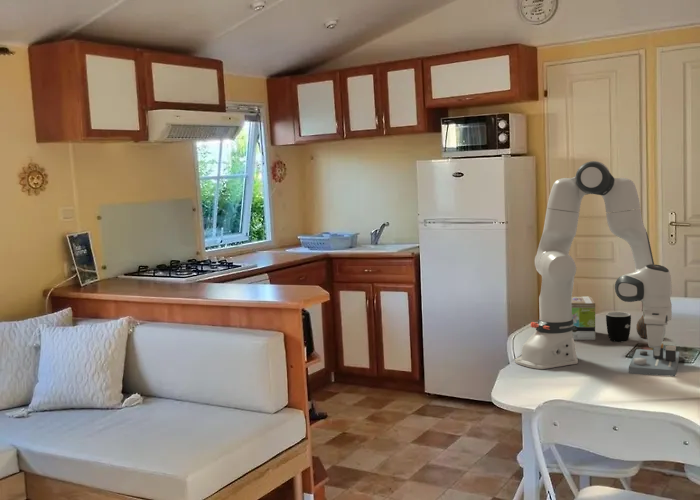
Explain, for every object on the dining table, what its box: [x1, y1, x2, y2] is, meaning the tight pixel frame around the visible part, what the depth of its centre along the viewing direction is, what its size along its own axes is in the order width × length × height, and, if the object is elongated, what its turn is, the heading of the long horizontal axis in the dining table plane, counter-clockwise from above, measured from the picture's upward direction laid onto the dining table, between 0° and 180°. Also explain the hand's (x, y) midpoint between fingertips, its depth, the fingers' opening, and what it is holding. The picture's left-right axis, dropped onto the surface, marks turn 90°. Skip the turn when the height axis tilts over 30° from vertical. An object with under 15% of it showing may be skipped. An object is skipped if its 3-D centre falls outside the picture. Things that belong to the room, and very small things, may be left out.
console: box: [628, 348, 681, 377], centre depth 255 cm, size 24×14×4 cm, turn 154°
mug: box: [605, 311, 632, 343], centre depth 291 cm, size 12×9×10 cm
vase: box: [636, 314, 647, 339], centre depth 293 cm, size 7×7×9 cm
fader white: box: [665, 345, 677, 361], centre depth 251 cm, size 2×3×4 cm
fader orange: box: [652, 342, 664, 358], centre depth 255 cm, size 2×3×4 cm
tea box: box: [572, 296, 596, 341], centre depth 300 cm, size 15×10×15 cm, turn 168°
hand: (657, 354), depth 253 cm, fingers closed
